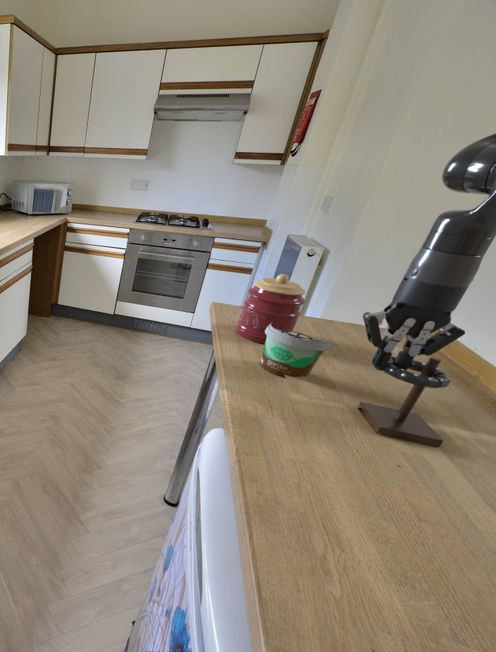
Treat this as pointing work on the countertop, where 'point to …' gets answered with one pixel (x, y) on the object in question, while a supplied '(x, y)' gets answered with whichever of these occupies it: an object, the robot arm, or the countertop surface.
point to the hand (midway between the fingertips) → (386, 369)
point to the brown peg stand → (404, 415)
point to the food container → (291, 352)
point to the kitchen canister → (270, 307)
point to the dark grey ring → (435, 381)
